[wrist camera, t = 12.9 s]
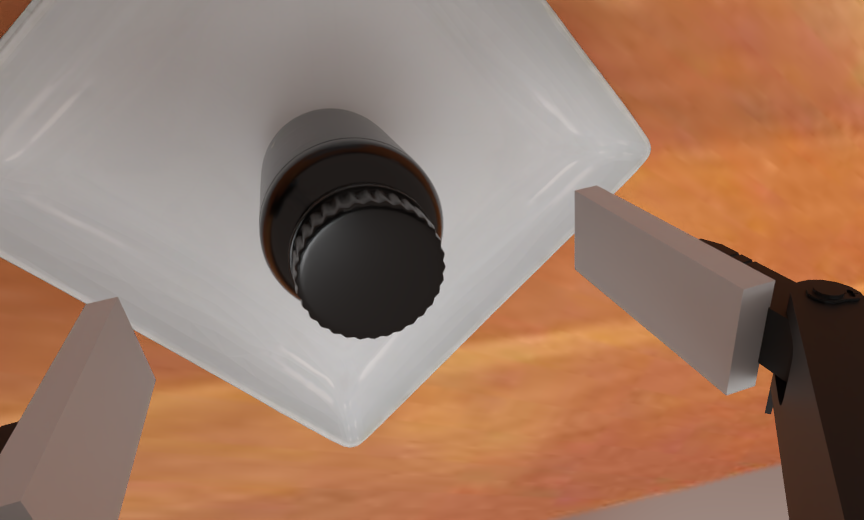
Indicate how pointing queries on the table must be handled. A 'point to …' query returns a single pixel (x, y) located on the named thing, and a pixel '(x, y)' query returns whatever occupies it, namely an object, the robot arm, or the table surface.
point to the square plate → (243, 156)
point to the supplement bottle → (350, 224)
